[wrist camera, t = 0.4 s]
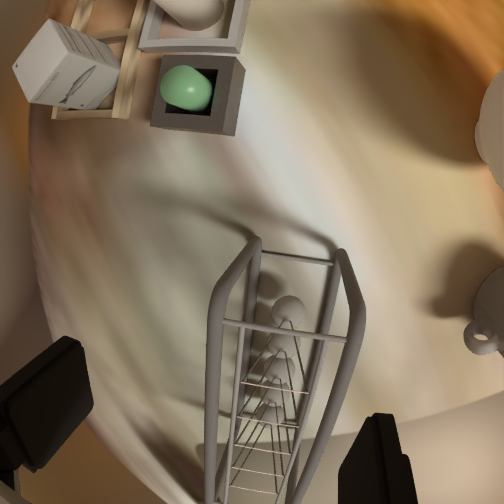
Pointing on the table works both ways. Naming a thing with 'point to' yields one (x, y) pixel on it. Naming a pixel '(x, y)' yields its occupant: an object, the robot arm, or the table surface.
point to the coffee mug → (488, 316)
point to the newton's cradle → (276, 370)
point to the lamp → (492, 129)
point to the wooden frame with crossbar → (127, 66)
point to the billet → (193, 12)
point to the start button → (187, 89)
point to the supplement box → (66, 68)
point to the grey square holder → (224, 100)
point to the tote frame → (216, 45)
